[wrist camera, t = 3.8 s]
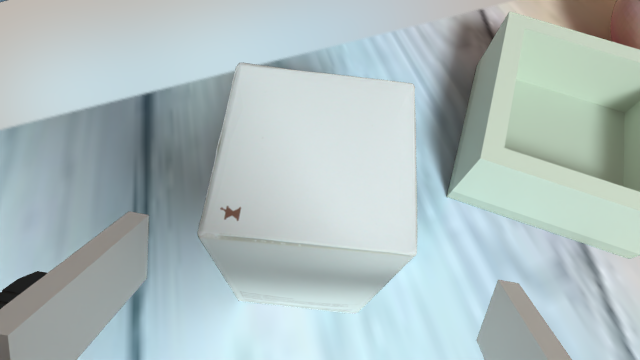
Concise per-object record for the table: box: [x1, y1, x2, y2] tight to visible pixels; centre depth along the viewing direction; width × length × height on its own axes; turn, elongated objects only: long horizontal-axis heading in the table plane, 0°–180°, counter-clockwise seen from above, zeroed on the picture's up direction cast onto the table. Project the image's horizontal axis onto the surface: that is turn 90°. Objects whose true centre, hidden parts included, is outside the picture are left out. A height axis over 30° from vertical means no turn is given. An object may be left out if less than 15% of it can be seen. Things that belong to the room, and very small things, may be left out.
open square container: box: [447, 12, 640, 259], centre depth 28 cm, size 12×12×6 cm
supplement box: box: [197, 63, 417, 314], centre depth 20 cm, size 7×7×13 cm
